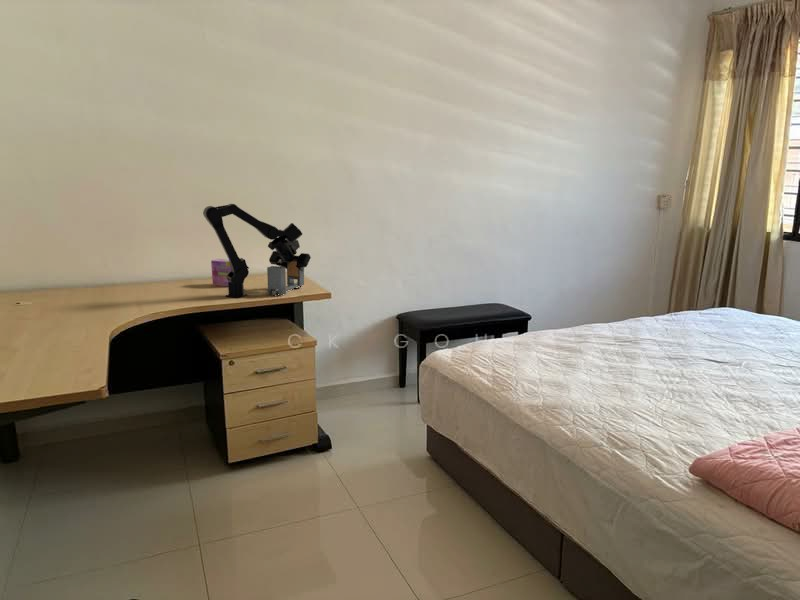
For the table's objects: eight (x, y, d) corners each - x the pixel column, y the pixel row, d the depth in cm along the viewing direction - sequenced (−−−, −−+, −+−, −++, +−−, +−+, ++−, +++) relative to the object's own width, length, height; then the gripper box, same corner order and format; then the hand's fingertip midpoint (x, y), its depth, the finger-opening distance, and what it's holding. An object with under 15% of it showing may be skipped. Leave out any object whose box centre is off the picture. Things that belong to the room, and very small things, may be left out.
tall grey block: (281, 296, 255) (280, 268, 252) (268, 295, 257) (267, 267, 254) (286, 294, 259) (285, 266, 256) (273, 293, 261) (272, 265, 258)
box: (212, 285, 274) (210, 260, 272) (219, 283, 280) (218, 258, 277) (232, 287, 271) (231, 261, 269) (239, 285, 277) (237, 259, 274)
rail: (276, 296, 255) (275, 291, 254) (271, 295, 256) (271, 291, 255) (303, 286, 277) (303, 281, 277) (299, 285, 278) (299, 281, 277)
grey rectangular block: (299, 286, 269) (299, 259, 267) (286, 285, 271) (286, 258, 269) (304, 284, 273) (303, 258, 271) (291, 283, 275) (291, 257, 273)
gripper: (308, 235, 260) (321, 257, 273) (272, 233, 267) (286, 254, 280) (298, 255, 255) (312, 277, 267) (262, 252, 262) (277, 273, 274)
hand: (297, 270), depth 272 cm, fingers closed on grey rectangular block, 6 cm apart
